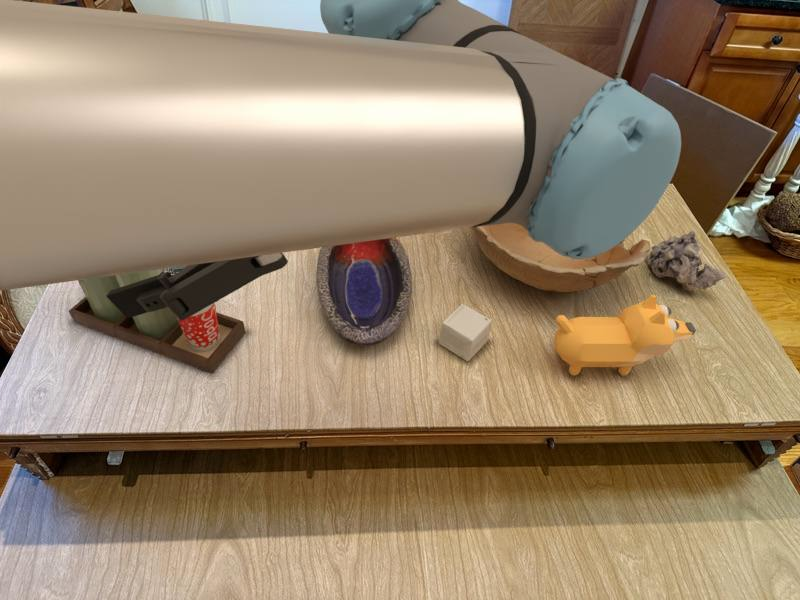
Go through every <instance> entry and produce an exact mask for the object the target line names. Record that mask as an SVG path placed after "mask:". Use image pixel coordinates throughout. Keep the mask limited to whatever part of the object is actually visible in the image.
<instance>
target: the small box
mask: <svg viewBox="0 0 800 600" xmlns="http://www.w3.org/2000/svg"><path fill="white" fill-rule="evenodd" d="M492 323H493V320H492V319H490V318H489V317H487V316H485V315H483V314H482V313H480V312H478V311H476V310H475V309H473V308H471V307H470V306H468V305H465V304H464V303H461V304H460V305H459V306H458V307H456V308H455V310H453V312H451V313H450V314H449V315H448V316H447V317H446V318H444V320H443V321H441V326H440V333H439V340H438V344H439V345H440V346H442V347H443V348H445V349H447V350H448V351H450V352H451V353H453V354H455V355H456V356H458V357H460V358H461V359H462V360H464V361H466V362H469V361H470V360H471V359H473V358H474V356H475V355H476V354H477V353H478V352H479V351H480V350H481V349H482V348H483V347H484V346H485V345H486V344H487V342H488V341H489V336H490V333H491V332H490V331H491V328H492Z"/></svg>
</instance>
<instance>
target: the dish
mask: <svg viewBox="0 0 800 600" xmlns="http://www.w3.org/2000/svg"><path fill="white" fill-rule="evenodd" d="M316 289H317V295H318V299H319V303H320V306H321V309H322V312H323V314H324V316H325V318H326V320H327V321H328V323H329V324H330V325H331V327H332V328H333V329H334V331H335V332H336V333H337V334H338V335H339V336H340V337H341V338H343V339H344V340H345V341H347V342H349V343H350V344H353V345H356V346H360V347H370V346H374V345H378V344H380V343H382V342H384V341H385V340H387V339H388V338H390V336H392V334H393V333H394V332H395V331H396V330H397V328H399V326H400V325H401V323H402V322H403V321H404V318H405V316H406V314H407V312H408V310H409V307H410V303H411V298H412V292H413V275H412V269H411V265H410V261H409V257H408V255H407V251H406V250H405V248H404V246H403V244H402V243H401V242H400V240H399V239H398V237H395V238H387V239H380V240H373V241H365V242H358V243H350V244H343V245H336V246H328V247H321V248H320V251H319V254H318V258H317V263H316Z"/></svg>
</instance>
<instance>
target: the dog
mask: <svg viewBox="0 0 800 600" xmlns="http://www.w3.org/2000/svg"><path fill="white" fill-rule="evenodd" d="M671 314H672V309H671V308H670V307H669V306H667V305H664V304H658V303H657V297H656V295H655V294H651V295H650V296H649V297H648V298H646V299H645V300H643V301H640V302H638V303H635V304H632V305H629V306H627V307H625V308H624V309H623V310H622V311H621V312H620V313H619V315H618V316H577V317H573V318H569V319H568V318H567V317H566V315H564V314H560V315H558V316H557V317H556V318H555V323H556V324H557V326H558V328H557V330H556V332H555V334H554V338H553V345H554V350H555V351H556V352H557V354H558V355H559V357H560V358H561V360H562V361H564V362H565V363H567V364H568V365H569V368H568V373H569V374H570V375H571V376H573V377H575V376H578V375H579V374H580V372H581V370H582V368H618V370H617V371H618V374H620V375H621V376H627V375H629V374H630V372H631V370H632V368H633V367H634V366H640V365H642V364H644V363H645V362H647V361H649V360H650V359H651V358H653V357H654V356H664V355H665V354H666V353H667V352H668V351H669V350H671V348H672V347H673V344H674V343H678V342H681V341H687V340H689V339H692V337H693V335H695V333H696V332H697V331H696V328H695V326H694V324H693V322H692V321H691V322H690V321H682V320H679V319H676V318H673V317H671V316H670V315H671Z"/></svg>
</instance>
